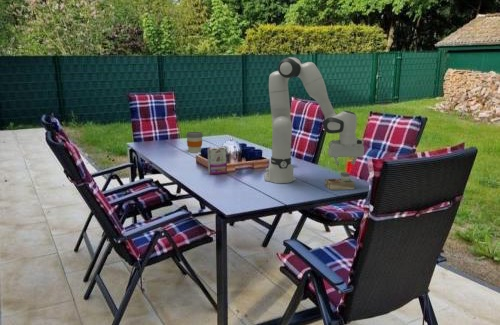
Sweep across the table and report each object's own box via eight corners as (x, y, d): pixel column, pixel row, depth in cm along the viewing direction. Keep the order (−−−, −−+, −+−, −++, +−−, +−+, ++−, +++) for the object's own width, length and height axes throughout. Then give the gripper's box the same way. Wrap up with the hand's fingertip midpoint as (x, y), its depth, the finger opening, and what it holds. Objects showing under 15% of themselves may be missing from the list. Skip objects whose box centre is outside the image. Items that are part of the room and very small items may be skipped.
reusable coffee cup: (186, 150, 346) (186, 131, 343) (202, 150, 347) (202, 131, 344) (186, 153, 334) (185, 134, 330) (202, 153, 335) (202, 134, 332)
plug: (340, 186, 249) (341, 172, 248) (346, 185, 250) (346, 172, 248) (342, 187, 246) (343, 174, 244) (348, 187, 247) (349, 173, 245)
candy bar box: (224, 171, 280) (224, 146, 276) (226, 173, 275) (226, 148, 271) (207, 173, 275) (207, 147, 272) (209, 175, 271) (209, 149, 267)
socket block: (324, 185, 249) (325, 178, 248) (347, 184, 252) (348, 177, 251) (330, 190, 241) (331, 182, 240) (354, 189, 243) (354, 181, 243)
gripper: (331, 141, 237) (329, 166, 240) (366, 141, 241) (364, 165, 244) (327, 139, 243) (325, 163, 246) (361, 139, 247) (359, 163, 250)
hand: (344, 164), depth 245 cm, fingers open, 8 cm apart
